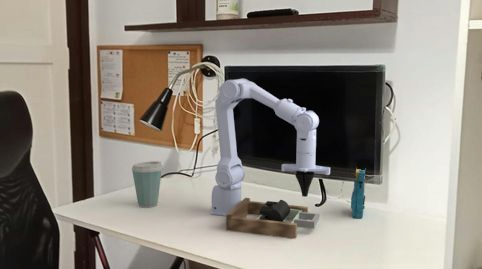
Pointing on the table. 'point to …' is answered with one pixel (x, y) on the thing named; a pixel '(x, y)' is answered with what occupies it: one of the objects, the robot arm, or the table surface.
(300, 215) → the pull tray
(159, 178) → the disposable coffee cup
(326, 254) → the table surface
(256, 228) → the brown wooden frame
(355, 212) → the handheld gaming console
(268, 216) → the end cap
